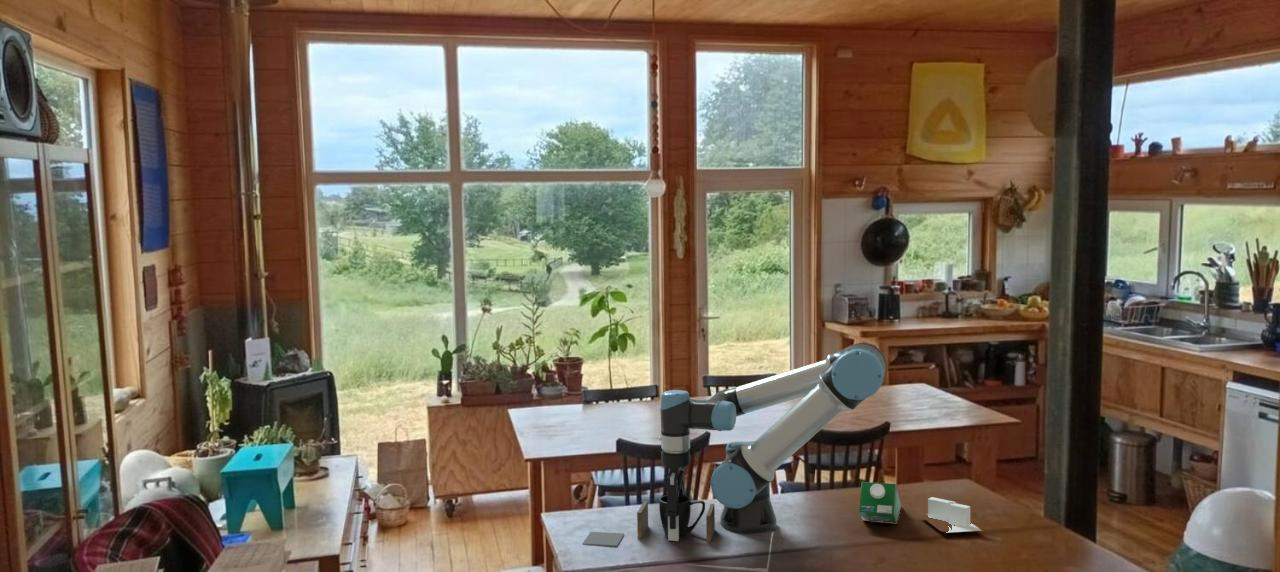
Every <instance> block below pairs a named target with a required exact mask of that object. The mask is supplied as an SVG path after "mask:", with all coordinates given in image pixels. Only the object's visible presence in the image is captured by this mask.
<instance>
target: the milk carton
mask: <svg viewBox="0 0 1280 572" xmlns="http://www.w3.org/2000/svg"><path fill="white" fill-rule="evenodd" d="M859 498H860V499H859V505H858V507H859V509H858V513H859V515H860V516H861V517H860V518H861V519H862V521H863V520H869V521H883V522H893V523H896V522H897V518H898V515H899V511H900V508H901V506H902V502H901V499H900V495H899V492H898V488H897V485H896V483H887V482H885V483H884V482H873V481H872V482H871V481H870V482H869V481H861V485H860V496H859Z"/></svg>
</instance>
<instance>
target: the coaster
mask: <svg viewBox="0 0 1280 572" xmlns="http://www.w3.org/2000/svg"><path fill="white" fill-rule="evenodd" d="M624 536H625V533H624V532H623V533H622V532H604V531H603V532H602V531H590V532H589V533H588V535H587V536H586V538H585V539H584V540H583V542H582V544H587V545H586V546H595V545H596V547H608V546H609V547H610V548H611V547H612V548H617V547H618V546H619V544H620V543H621V541H622V539H623V538H624ZM588 544H589V545H588ZM609 547H608V548H609Z"/></svg>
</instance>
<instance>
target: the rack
mask: <svg viewBox="0 0 1280 572" xmlns="http://www.w3.org/2000/svg"><path fill="white" fill-rule="evenodd" d="M715 511H716V510H715V503H710V505H709V508H708V510H707V513H706V515H705V516H706V521H705V522H706V526H705V527H706V543H707V544H708V543H711V542H712V539H713V536H714V533H715V531H716V525H715V522H716V517H715ZM636 518H637V519H636V520H637V521H636V522H637V524H636V525H637V539H638V540H642V539H643V537H644V535H645V533H646V531H647V530H648V528H649V501H648V500H644V501H643V502H642V504H641V505H640V508H638V510H637V515H636Z"/></svg>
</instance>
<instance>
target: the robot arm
mask: <svg viewBox="0 0 1280 572" xmlns="http://www.w3.org/2000/svg"><path fill="white" fill-rule="evenodd" d="M887 365H888V364H887V360H886V357H885V355H884V353H883V352H882V350H881V349H880V348H878V347H877V346H875V345H874V344H871V343H867V342H857V343H854V344H851V345H849V346H847V347H845V348H842V349H840V350H837V351H835V352H833V353H829V354H828V355H827V357H826V358H825V359H822V360H820V361H816V362H812V363H810V364H807V365H804V366H800V367H797V368H794V369H790V370H787V371H784V372H782V373H777V374H775V375H771V376H768V377H765V378H761V379H758V380H755V381H752V382H749V383H744V384H743V385H738V386H737V387H732V388H729V389H728V388H726V389H725V388H724V389H722V390H719V391H717V392H715V393H714V395H713V396H711V397H710V398H708V399H707V400H705V399H704V400H703V399H691V397H690V393H689V391H686V390H682V389H669V390H665V391H664V392H662V393H661V396H660V408H659V411H660V435H661V436H659V437H658V440H659V441H661V445H660V446H661V448H660V449H662V450H661V452H660V454H661V455H660V456H661V459H660V460H661V462H660V463H661V465H662V466H663V467H666V468H668V469H669V470H668V472H667V474H666V485H667V486H666V487H667V491H666V494H667V513H665V516H668V537H667V541H671V542H672V541H673V542H679V541H680V538H679V515H678V501H679V495H685V496H687V494H686V485H685V483H686V482H685V467H688V466H689V465H690V464H691V451H690V449H691V430H690V429H692V430H704V431H705V430H707V431H718V432H723V431H724V432H725V431H726V432H728V431H729V432H730V431H732V430H734V428H735V426H736V421H737V417H740V416H744V415H746V414H749V413H753V412H755V411H758V410H762V409H766V408H769V407H773V406H775V405H780V404H784V403H787V402H789V401H793V400H797V399H800V400H799V401H798V402H797V403H795V405H793V406H792V407H791V408H790V409H789V410H788V411H787V412H786V413H785V414H783V416H781V417H780V418H779V419H778V420H777V421H776V422H775V423H774V424H772V425H771V426H770V427H769V428H768V429H767V430H766V431H765V432H764V433H762V434H761V435H760V436H759V437H758V438H757V439H756V440H755V441H730V442H727V444H726V448H725V455H726V456H725V459H724V460H723V461H722V462H721V463H720V464H719V465H718V466H717V467H715V469H714V470H713V472H712V475H711V479H710V488H711V492H712V494H713V496H714V498H715V499H716V500H717V501H718V502H719V503H720V504H722V505H723V508H722V512H721V514H720V523H719V524H720V526H721V527H722V528H723V529H725V530H727V531H729V532H733V533H737V534H739V533H740V534H762V533H767V532H770V531H771V532H774V531H775V530H776V529H777V516H776V514H775V511H774V507H773V505H772V502H771V497H770V496H771V493H770V492H771V491H770V490H771V489H770V488H771V483H772V481H774V479H775V470H777V469H778V468H779V467H780V466H782V464H783V463H785V462H786V461H787V460H789V458H790V457H792V456H793V455H794V454H795V453H796V452H798V450H800V449H801V448H802V447H803V446H804V445H806V443H807V442H808V441H810V440H811V439H812V438H813V437H814V436H815V435H816V434H817V433H819V432H820V431H821V430H822V429H823V428H824V427H825V426H826V425H828V424H829V423H831V421H833V420H834V418H836V417H837V416H838V415H840V414H841V413H842V411H846V410H847V411H854V409H856V408H857V407H858V406H859V405H861V403H863V401H864V400H866V399H868V398H870V397H872V396H874V395H876V393H877V392H878V391H879V390H880V388H881V387H882V384H883V382H884V380H885V377H886V373H887V370H888V369H887V367H888V366H887Z"/></svg>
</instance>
